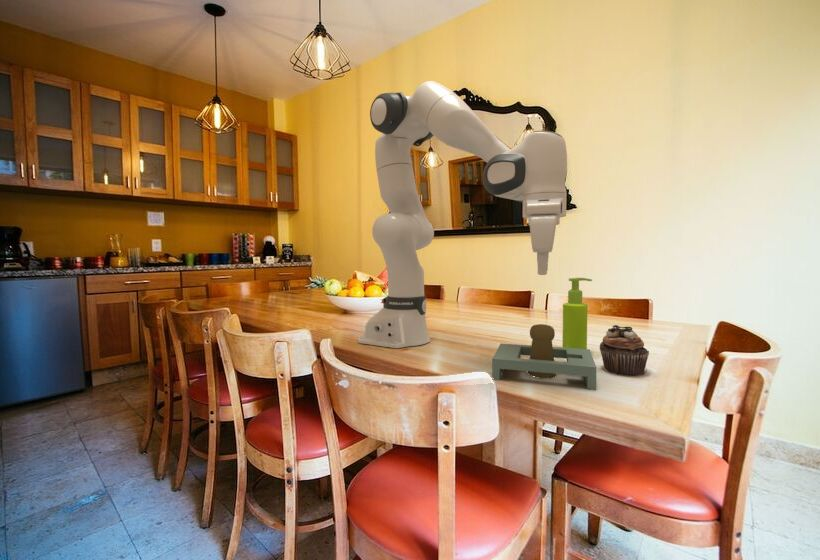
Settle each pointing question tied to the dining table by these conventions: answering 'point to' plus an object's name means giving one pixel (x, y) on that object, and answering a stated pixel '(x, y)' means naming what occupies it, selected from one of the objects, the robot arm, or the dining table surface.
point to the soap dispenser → (575, 318)
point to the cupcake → (623, 352)
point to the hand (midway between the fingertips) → (542, 273)
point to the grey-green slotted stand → (545, 362)
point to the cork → (542, 347)
